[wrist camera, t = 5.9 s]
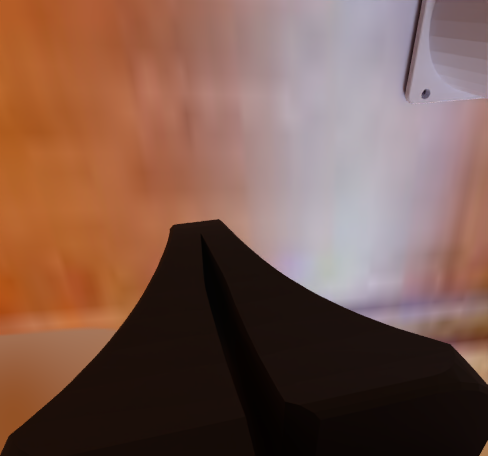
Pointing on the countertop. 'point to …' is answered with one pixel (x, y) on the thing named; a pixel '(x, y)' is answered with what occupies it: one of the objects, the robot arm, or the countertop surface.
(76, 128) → the countertop surface
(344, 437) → the robot arm
